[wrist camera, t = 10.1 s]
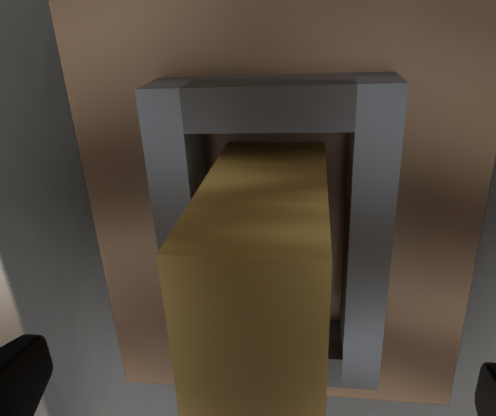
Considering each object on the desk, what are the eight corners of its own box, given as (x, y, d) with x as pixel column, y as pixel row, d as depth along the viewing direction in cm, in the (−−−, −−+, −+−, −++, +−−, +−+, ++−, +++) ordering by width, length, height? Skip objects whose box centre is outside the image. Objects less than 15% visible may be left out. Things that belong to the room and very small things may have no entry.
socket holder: (441, 385, 18) (464, 451, 15) (135, 363, 20) (107, 420, 17) (541, -178, 11) (617, -239, 8) (41, -129, 13) (-35, -164, 10)
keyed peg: (324, 141, 14) (332, 260, 7) (319, 303, 16) (322, 497, 10) (227, 142, 14) (156, 254, 8) (237, 299, 17) (188, 483, 10)
